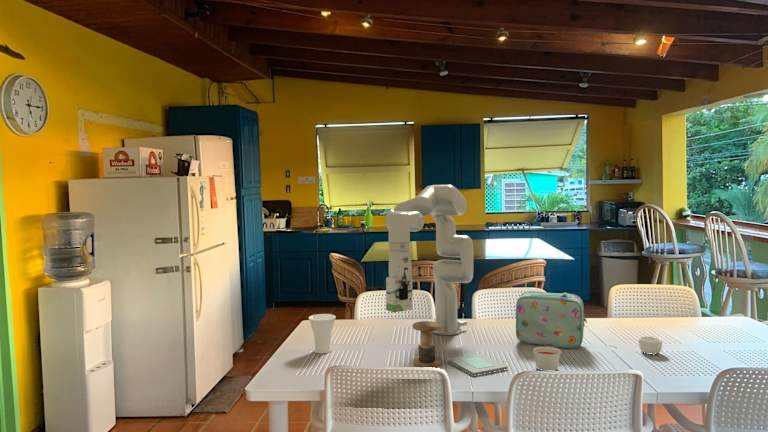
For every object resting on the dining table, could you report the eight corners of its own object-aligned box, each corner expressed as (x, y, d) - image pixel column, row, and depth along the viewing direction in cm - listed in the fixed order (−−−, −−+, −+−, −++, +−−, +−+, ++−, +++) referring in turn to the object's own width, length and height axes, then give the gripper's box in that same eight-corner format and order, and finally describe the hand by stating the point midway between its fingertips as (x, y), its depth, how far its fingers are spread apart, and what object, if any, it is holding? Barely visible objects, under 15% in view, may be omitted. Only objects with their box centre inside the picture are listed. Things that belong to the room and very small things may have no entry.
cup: (314, 357, 200) (314, 321, 199) (305, 349, 209) (304, 315, 209) (340, 352, 205) (339, 318, 204) (330, 345, 214) (329, 312, 214)
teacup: (665, 357, 194) (665, 342, 194) (642, 356, 196) (643, 341, 195) (655, 348, 204) (655, 334, 204) (634, 348, 205) (634, 334, 205)
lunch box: (587, 344, 211) (587, 291, 210) (585, 351, 202) (585, 296, 201) (519, 337, 222) (519, 286, 221) (514, 344, 213) (514, 291, 212)
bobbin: (432, 357, 198) (431, 319, 197) (446, 365, 189) (446, 326, 188) (408, 361, 194) (407, 323, 193) (421, 369, 185) (421, 329, 184)
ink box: (393, 312, 184) (393, 278, 184) (385, 310, 188) (385, 277, 188) (413, 309, 189) (413, 276, 188) (405, 307, 193) (405, 274, 193)
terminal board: (480, 356, 198) (480, 353, 198) (507, 369, 183) (507, 366, 183) (448, 362, 192) (448, 358, 192) (473, 376, 177) (473, 372, 177)
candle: (555, 363, 189) (555, 346, 188) (564, 372, 180) (564, 354, 179) (530, 364, 188) (530, 346, 188) (538, 373, 179) (538, 354, 179)
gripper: (420, 248, 182) (420, 301, 182) (397, 244, 197) (398, 293, 198) (400, 250, 178) (401, 303, 179) (379, 245, 194) (380, 295, 195)
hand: (399, 297), depth 189 cm, fingers closed on ink box, 5 cm apart
